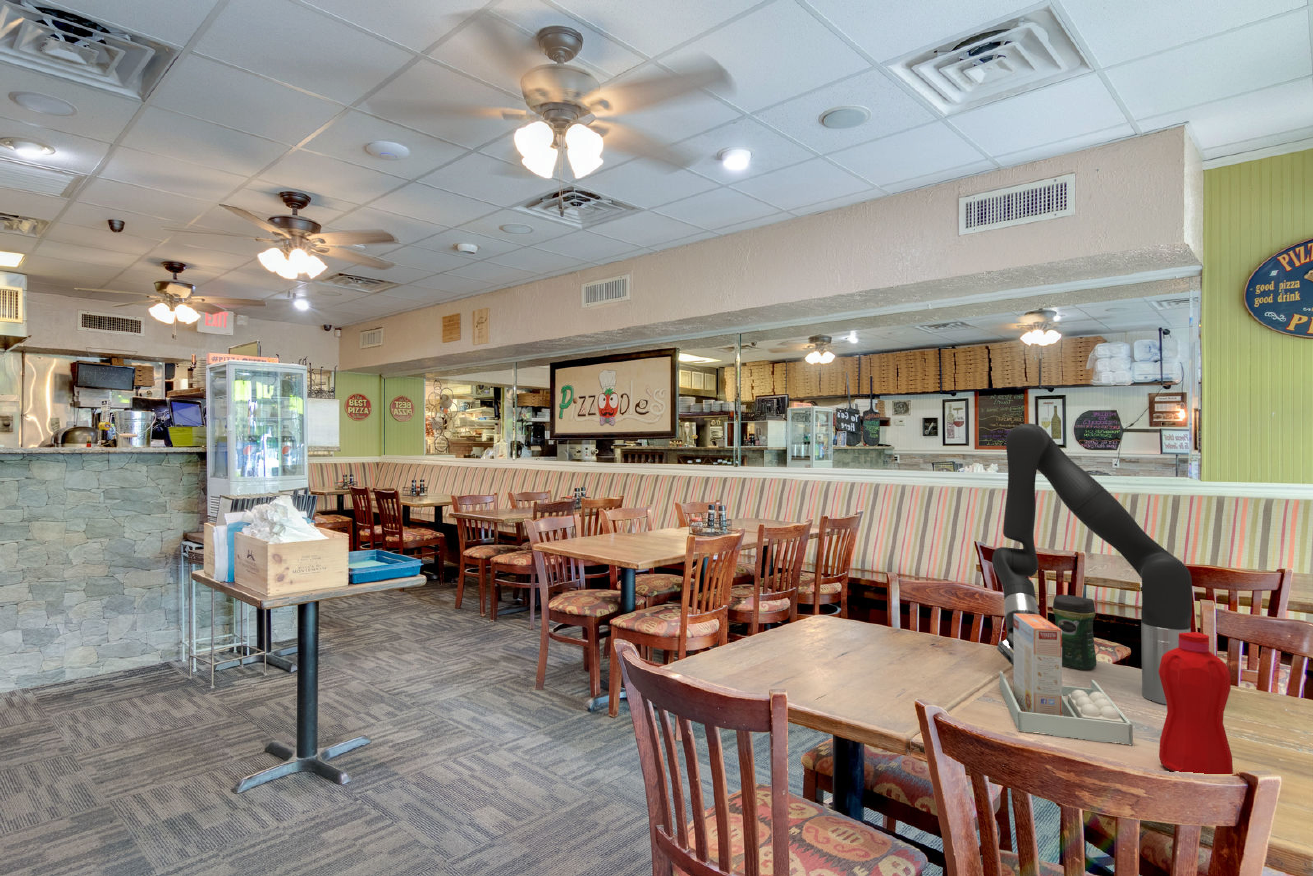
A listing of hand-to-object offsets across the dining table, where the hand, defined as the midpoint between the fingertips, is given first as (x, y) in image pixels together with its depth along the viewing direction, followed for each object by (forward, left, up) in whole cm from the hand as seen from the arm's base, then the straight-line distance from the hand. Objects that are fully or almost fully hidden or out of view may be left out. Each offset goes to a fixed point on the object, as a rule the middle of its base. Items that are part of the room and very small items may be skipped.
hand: (1031, 683), depth 157 cm
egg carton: (-10, +10, -5) cm, 15 cm away
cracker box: (0, +8, -5) cm, 9 cm away
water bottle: (-21, +27, -5) cm, 35 cm away
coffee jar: (-16, -36, -5) cm, 40 cm away
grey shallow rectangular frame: (-5, +4, -5) cm, 8 cm away
